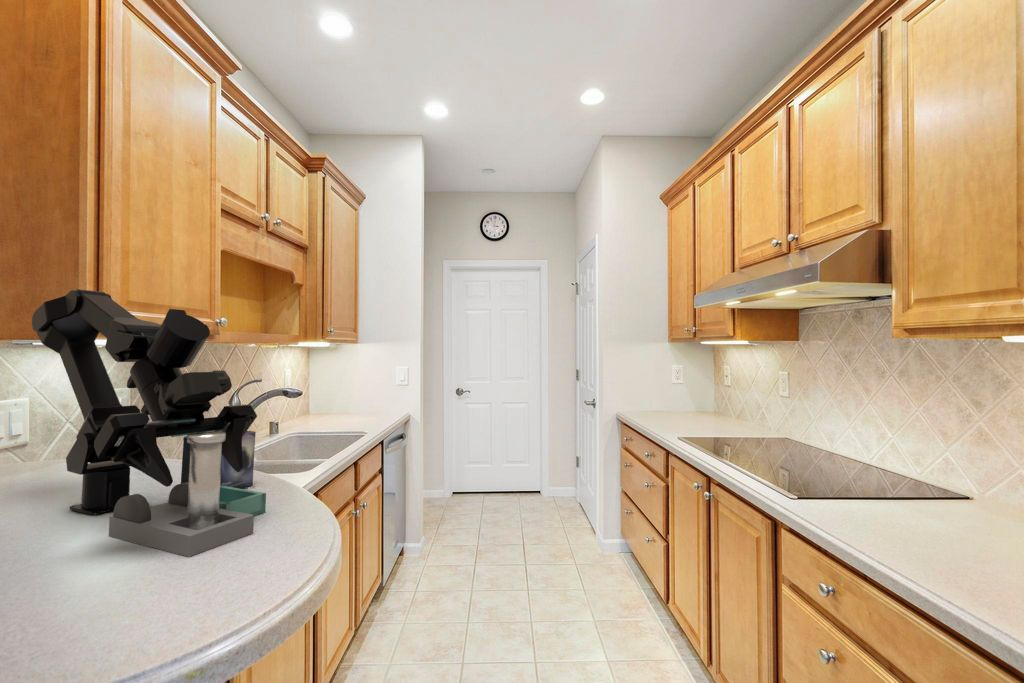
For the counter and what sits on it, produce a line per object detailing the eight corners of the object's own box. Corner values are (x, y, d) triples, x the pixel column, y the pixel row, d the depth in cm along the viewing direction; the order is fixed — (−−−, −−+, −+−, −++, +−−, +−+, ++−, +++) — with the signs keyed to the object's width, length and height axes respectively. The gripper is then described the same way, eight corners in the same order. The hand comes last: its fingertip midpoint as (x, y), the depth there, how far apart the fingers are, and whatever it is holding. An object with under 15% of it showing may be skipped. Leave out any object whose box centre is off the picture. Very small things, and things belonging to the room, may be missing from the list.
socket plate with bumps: (108, 536, 66) (110, 493, 66) (176, 516, 74) (178, 479, 74) (189, 557, 59) (191, 510, 60) (253, 533, 68) (254, 492, 68)
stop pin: (174, 542, 64) (179, 434, 64) (206, 531, 68) (210, 430, 68) (197, 548, 62) (202, 437, 63) (228, 536, 66) (233, 433, 67)
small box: (210, 501, 82) (212, 438, 82) (177, 498, 83) (180, 436, 83) (255, 485, 92) (257, 430, 92) (225, 483, 93) (227, 428, 94)
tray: (179, 515, 74) (180, 495, 74) (220, 503, 80) (221, 485, 81) (225, 525, 70) (226, 504, 71) (265, 512, 77) (266, 493, 77)
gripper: (109, 349, 60) (154, 448, 54) (251, 352, 77) (297, 429, 71) (76, 410, 63) (115, 509, 58) (219, 400, 80) (260, 477, 74)
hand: (207, 476), depth 65 cm, fingers open, 9 cm apart
